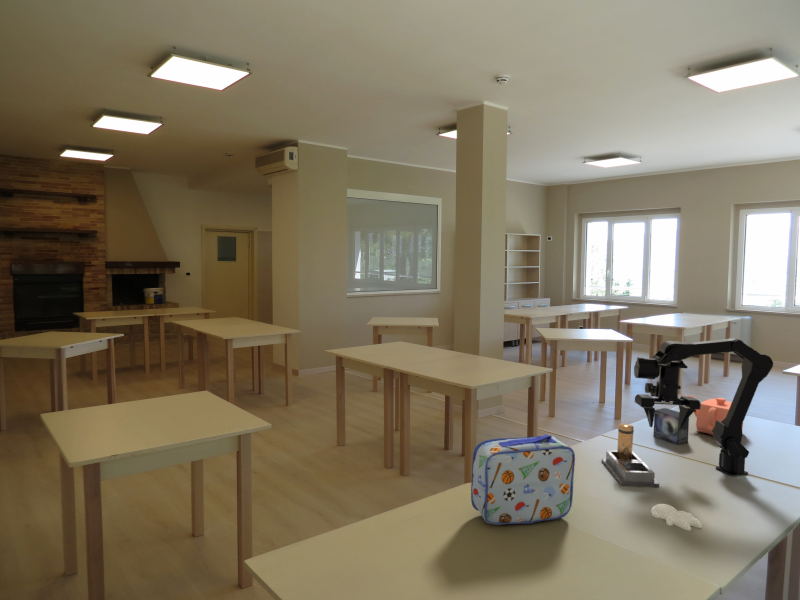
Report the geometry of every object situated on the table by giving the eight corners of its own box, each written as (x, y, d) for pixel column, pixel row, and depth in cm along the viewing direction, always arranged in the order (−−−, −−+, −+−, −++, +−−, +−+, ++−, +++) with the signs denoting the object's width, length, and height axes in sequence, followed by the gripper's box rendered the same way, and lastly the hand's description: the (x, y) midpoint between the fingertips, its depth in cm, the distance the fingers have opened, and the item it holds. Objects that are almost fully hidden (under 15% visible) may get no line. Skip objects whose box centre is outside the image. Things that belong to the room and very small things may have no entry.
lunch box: (558, 501, 145) (560, 424, 144) (580, 519, 136) (583, 436, 134) (467, 513, 138) (468, 432, 136) (483, 533, 128) (485, 446, 126)
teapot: (694, 420, 220) (696, 388, 219) (747, 432, 205) (749, 397, 204) (673, 429, 207) (675, 395, 206) (728, 443, 192) (730, 406, 191)
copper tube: (634, 465, 169) (636, 426, 167) (626, 468, 166) (628, 429, 165) (621, 460, 172) (623, 422, 171) (613, 463, 170) (615, 425, 168)
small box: (652, 436, 200) (653, 409, 199) (663, 433, 203) (665, 407, 202) (676, 445, 190) (678, 417, 189) (688, 442, 193) (690, 414, 192)
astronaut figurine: (681, 534, 129) (681, 522, 129) (643, 512, 140) (644, 501, 140) (707, 528, 132) (707, 517, 132) (668, 507, 143) (669, 496, 143)
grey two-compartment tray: (601, 461, 175) (602, 449, 174) (635, 462, 174) (635, 450, 173) (621, 485, 156) (621, 472, 155) (659, 487, 155) (659, 474, 155)
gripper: (685, 376, 176) (682, 421, 177) (629, 373, 176) (626, 418, 178) (703, 384, 165) (699, 432, 166) (643, 381, 165) (640, 429, 167)
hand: (665, 427), depth 169 cm, fingers open, 9 cm apart
